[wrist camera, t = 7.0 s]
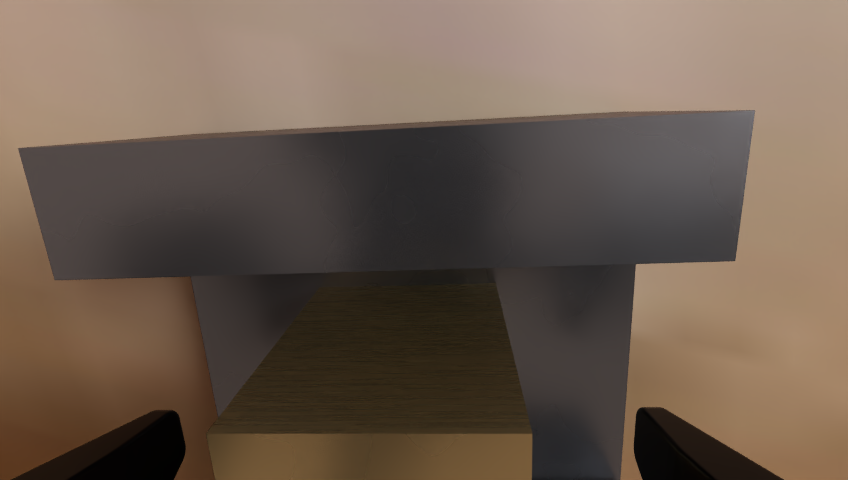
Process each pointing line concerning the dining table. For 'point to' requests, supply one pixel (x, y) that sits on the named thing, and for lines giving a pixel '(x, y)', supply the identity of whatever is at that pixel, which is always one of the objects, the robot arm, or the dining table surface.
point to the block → (382, 392)
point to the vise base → (416, 235)
